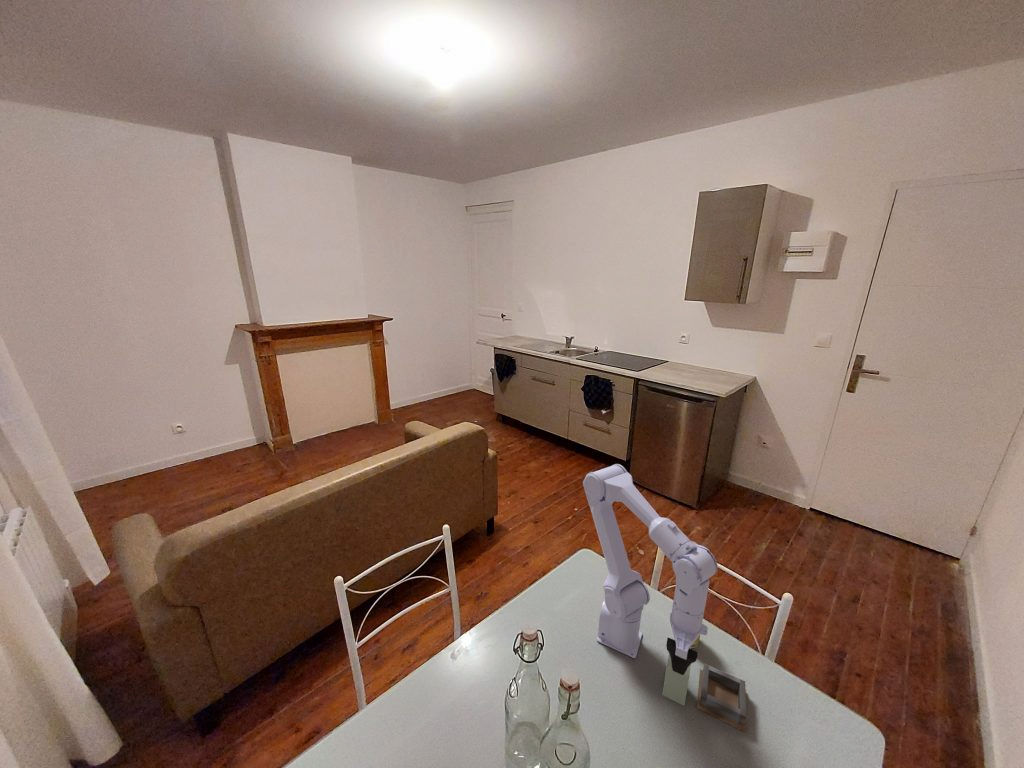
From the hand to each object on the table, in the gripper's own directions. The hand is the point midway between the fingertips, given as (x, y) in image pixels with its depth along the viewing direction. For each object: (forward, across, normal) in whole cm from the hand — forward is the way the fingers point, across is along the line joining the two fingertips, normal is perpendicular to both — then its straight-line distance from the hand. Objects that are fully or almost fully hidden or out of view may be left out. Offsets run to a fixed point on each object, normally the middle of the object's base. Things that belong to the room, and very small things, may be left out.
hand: (680, 656), depth 81 cm
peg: (+10, 0, 0) cm, 10 cm away
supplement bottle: (+10, +15, -1) cm, 18 cm away
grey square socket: (+10, +3, -9) cm, 14 cm away
